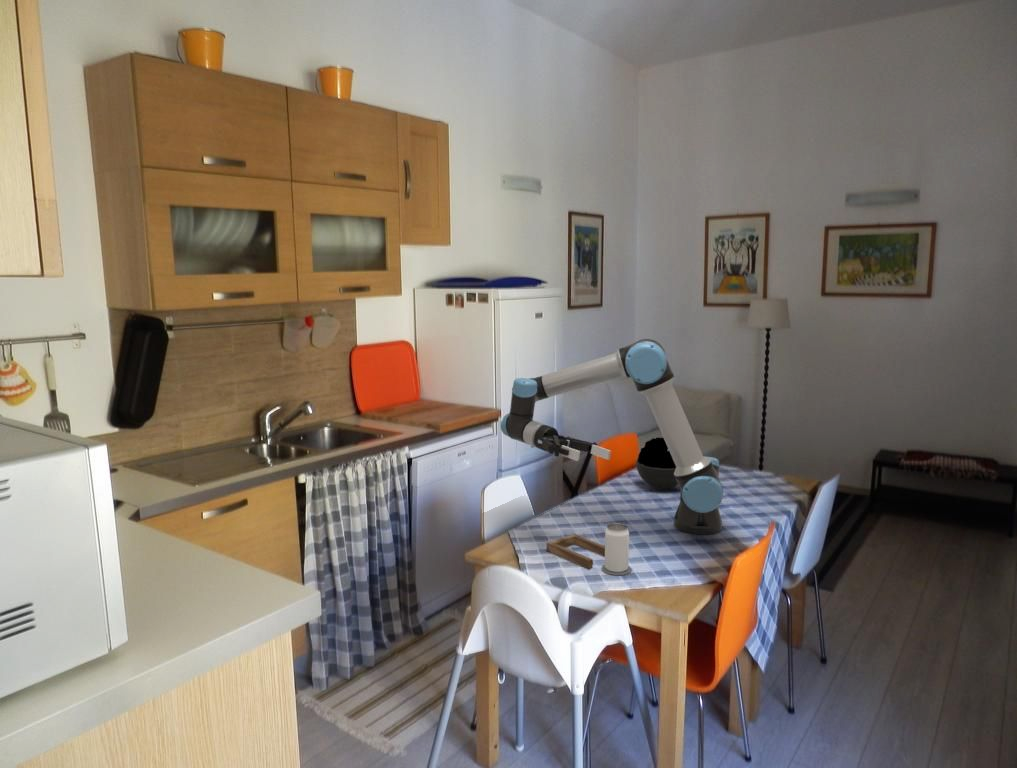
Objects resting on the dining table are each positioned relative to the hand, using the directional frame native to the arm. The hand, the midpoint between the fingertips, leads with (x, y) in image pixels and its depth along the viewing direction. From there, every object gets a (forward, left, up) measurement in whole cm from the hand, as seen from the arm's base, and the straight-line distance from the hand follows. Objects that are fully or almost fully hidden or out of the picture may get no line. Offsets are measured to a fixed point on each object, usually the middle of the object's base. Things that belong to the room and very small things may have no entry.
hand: (594, 455), depth 206 cm
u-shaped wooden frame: (+2, -2, -30) cm, 30 cm away
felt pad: (+2, +11, -30) cm, 32 cm away
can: (+2, +11, -30) cm, 32 cm away
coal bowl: (-69, -31, -30) cm, 81 cm away
